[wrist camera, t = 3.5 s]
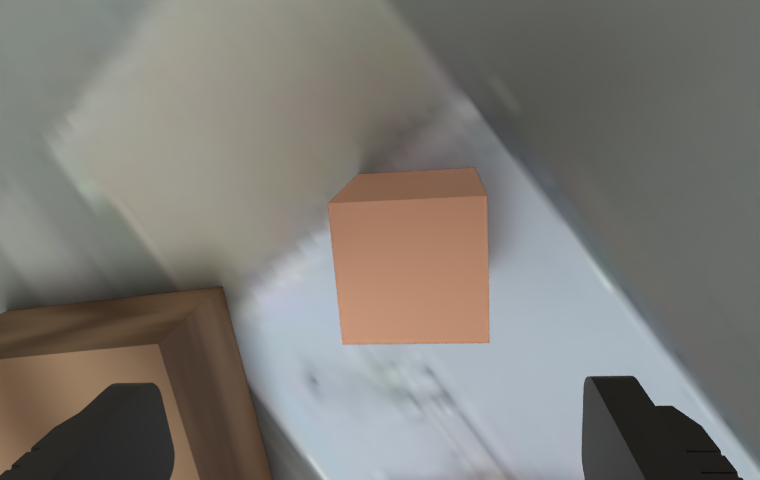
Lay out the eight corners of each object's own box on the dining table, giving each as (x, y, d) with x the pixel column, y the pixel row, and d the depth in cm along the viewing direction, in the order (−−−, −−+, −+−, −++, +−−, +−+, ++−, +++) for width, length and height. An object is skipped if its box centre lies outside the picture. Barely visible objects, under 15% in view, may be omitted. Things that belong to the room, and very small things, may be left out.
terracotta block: (474, 167, 21) (487, 195, 15) (477, 278, 22) (489, 342, 17) (357, 173, 22) (328, 203, 16) (367, 281, 23) (342, 344, 17)
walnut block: (224, 284, 24) (158, 343, 19) (277, 488, 27) (234, 592, 22) (10, 309, 26) (-110, 369, 20) (82, 496, 29) (-4, 595, 24)
